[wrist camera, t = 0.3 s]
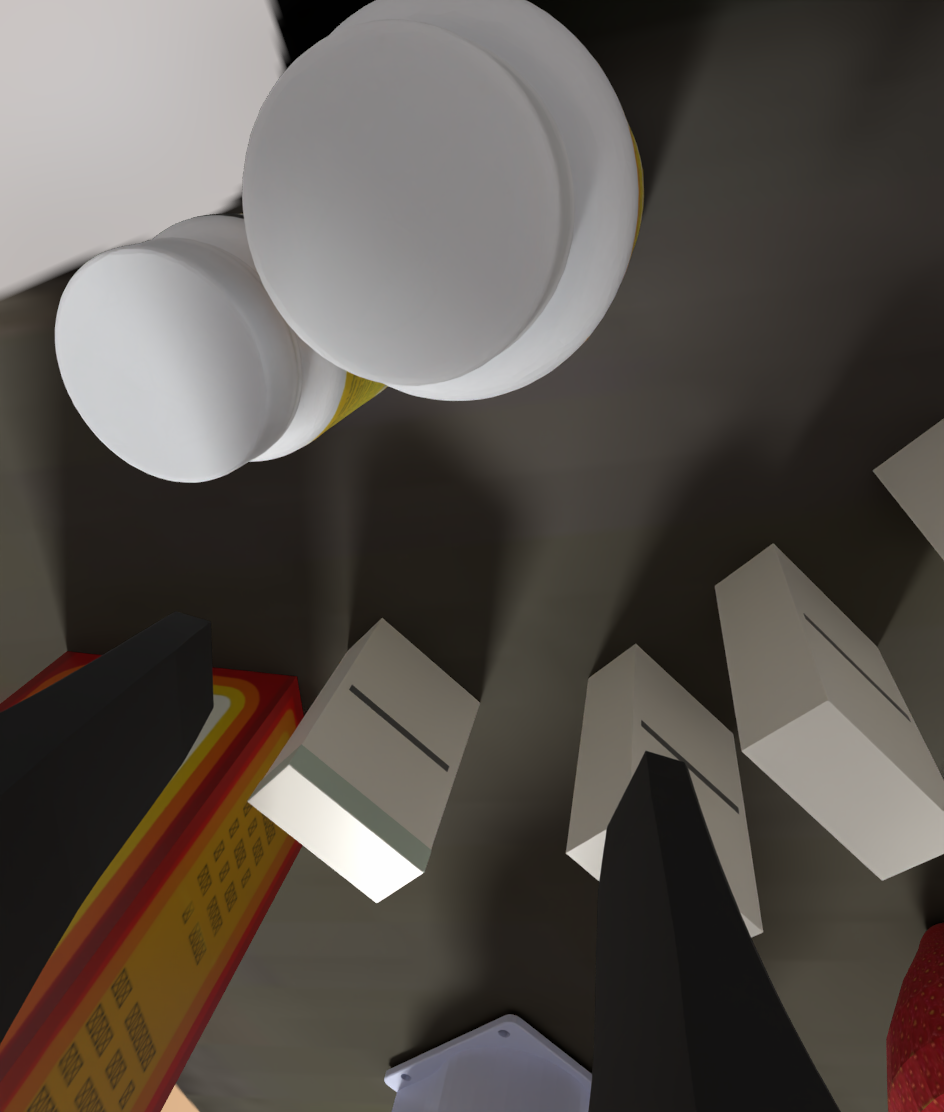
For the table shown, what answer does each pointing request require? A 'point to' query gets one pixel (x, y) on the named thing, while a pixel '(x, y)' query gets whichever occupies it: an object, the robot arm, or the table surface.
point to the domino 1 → (669, 730)
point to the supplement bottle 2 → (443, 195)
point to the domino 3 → (920, 483)
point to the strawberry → (919, 1032)
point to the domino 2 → (828, 716)
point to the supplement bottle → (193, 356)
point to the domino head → (372, 763)
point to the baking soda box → (158, 917)
